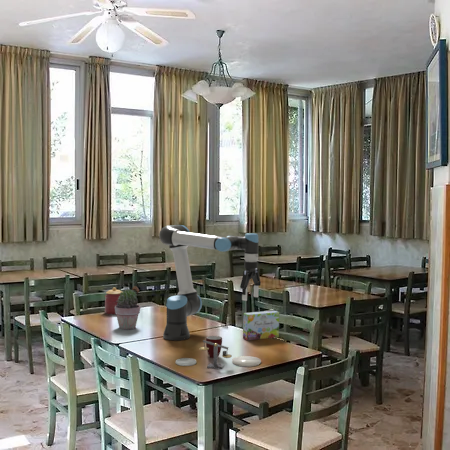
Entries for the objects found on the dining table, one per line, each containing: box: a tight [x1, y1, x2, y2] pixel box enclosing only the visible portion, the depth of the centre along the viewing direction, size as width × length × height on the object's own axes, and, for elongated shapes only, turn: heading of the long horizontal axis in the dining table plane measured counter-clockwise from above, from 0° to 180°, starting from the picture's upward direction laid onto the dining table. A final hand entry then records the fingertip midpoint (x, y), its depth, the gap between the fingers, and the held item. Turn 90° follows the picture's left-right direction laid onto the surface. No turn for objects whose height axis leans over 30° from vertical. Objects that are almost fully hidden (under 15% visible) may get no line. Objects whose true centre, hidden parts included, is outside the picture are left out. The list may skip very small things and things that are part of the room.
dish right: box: [231, 355, 262, 368], centre depth 281 cm, size 14×14×1 cm
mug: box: [205, 335, 223, 359], centre depth 290 cm, size 11×8×10 cm
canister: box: [104, 287, 123, 315], centre depth 397 cm, size 13×13×18 cm
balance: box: [199, 339, 232, 370], centre depth 273 cm, size 15×5×12 cm, turn 83°
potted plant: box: [114, 285, 143, 330], centre depth 351 cm, size 18×20×25 cm
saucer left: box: [175, 357, 197, 367], centre depth 279 cm, size 10×10×1 cm
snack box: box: [242, 310, 280, 341], centre depth 331 cm, size 21×6×15 cm, turn 117°
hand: (250, 298), depth 322 cm, fingers open, 13 cm apart
